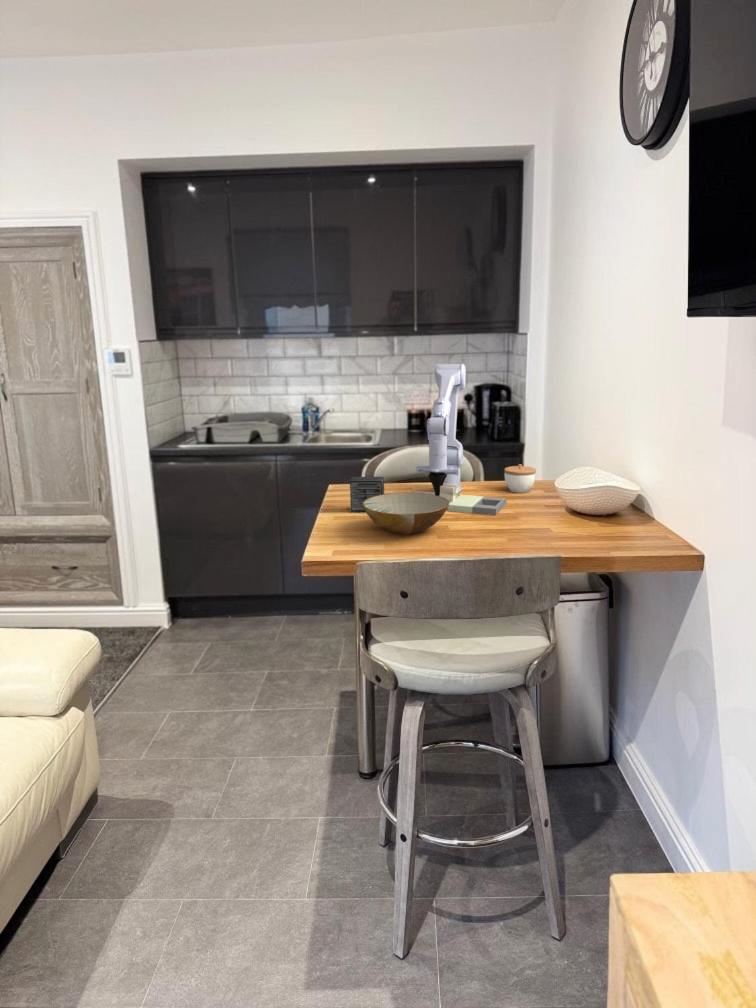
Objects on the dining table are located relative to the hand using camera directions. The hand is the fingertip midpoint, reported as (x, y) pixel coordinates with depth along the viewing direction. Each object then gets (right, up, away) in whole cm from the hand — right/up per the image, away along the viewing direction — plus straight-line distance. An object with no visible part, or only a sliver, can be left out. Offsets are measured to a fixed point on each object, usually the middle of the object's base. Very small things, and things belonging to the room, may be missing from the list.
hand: (437, 495), depth 236 cm
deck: (+5, -3, -1) cm, 6 cm away
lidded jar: (+30, +2, +17) cm, 34 cm away
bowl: (-11, -10, -26) cm, 30 cm away
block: (+3, -1, -1) cm, 4 cm away
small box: (-23, -5, -4) cm, 24 cm away
